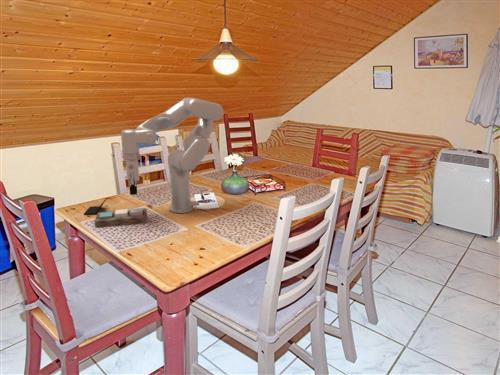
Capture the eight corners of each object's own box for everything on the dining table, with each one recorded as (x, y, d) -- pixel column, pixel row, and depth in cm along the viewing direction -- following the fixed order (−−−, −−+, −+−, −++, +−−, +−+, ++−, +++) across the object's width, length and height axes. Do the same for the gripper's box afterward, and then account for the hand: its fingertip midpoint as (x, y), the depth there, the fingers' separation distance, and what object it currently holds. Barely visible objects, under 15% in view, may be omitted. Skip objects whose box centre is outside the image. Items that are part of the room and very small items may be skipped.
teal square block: (113, 216, 185) (112, 211, 184) (112, 220, 179) (111, 215, 179) (101, 217, 183) (100, 212, 183) (99, 221, 178) (99, 216, 177)
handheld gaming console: (85, 205, 199) (96, 191, 198) (98, 212, 203) (108, 198, 201) (82, 216, 189) (93, 201, 188) (95, 222, 193) (106, 208, 191)
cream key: (128, 213, 186) (127, 209, 185) (127, 217, 181) (127, 213, 180) (116, 214, 185) (115, 210, 184) (115, 218, 179) (114, 214, 179)
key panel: (146, 214, 192) (146, 208, 191) (146, 222, 181) (146, 216, 180) (98, 218, 186) (97, 211, 185) (95, 227, 175) (94, 220, 174)
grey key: (143, 212, 188) (142, 207, 187) (142, 216, 182) (142, 211, 182) (131, 213, 186) (130, 208, 186) (130, 217, 181) (130, 212, 180)
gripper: (139, 159, 170) (141, 198, 175) (140, 153, 184) (142, 189, 189) (121, 159, 168) (124, 199, 173) (123, 153, 182) (126, 190, 187)
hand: (133, 194), depth 181 cm, fingers closed
